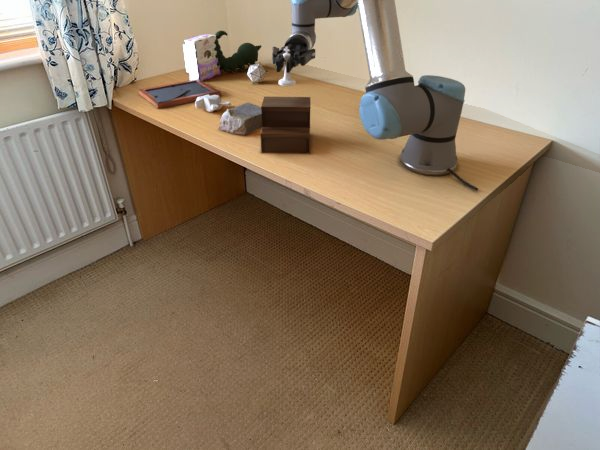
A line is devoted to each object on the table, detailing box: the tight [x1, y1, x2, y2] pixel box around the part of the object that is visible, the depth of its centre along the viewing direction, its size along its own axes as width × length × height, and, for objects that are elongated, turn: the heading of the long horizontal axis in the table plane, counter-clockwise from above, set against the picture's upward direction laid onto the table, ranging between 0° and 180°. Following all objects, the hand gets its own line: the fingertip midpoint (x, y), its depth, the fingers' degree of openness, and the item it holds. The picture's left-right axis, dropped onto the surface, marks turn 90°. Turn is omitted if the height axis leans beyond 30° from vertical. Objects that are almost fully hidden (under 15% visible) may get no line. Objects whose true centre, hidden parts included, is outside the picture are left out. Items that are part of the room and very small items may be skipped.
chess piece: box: [277, 46, 297, 87], centre depth 121 cm, size 5×5×10 cm
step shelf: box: [259, 96, 311, 155], centre depth 128 cm, size 14×14×12 cm
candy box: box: [183, 33, 221, 82], centre depth 183 cm, size 14×6×16 cm, turn 149°
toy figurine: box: [214, 30, 262, 74], centre depth 192 cm, size 9×19×25 cm
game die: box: [244, 61, 269, 85], centre depth 180 cm, size 9×8×10 cm
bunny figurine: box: [194, 95, 232, 113], centre depth 153 cm, size 10×5×15 cm
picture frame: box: [138, 79, 221, 109], centre depth 168 cm, size 20×2×25 cm
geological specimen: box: [218, 102, 262, 136], centre depth 141 cm, size 11×6×15 cm
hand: (283, 67), depth 116 cm, fingers closed on chess piece, 2 cm apart
